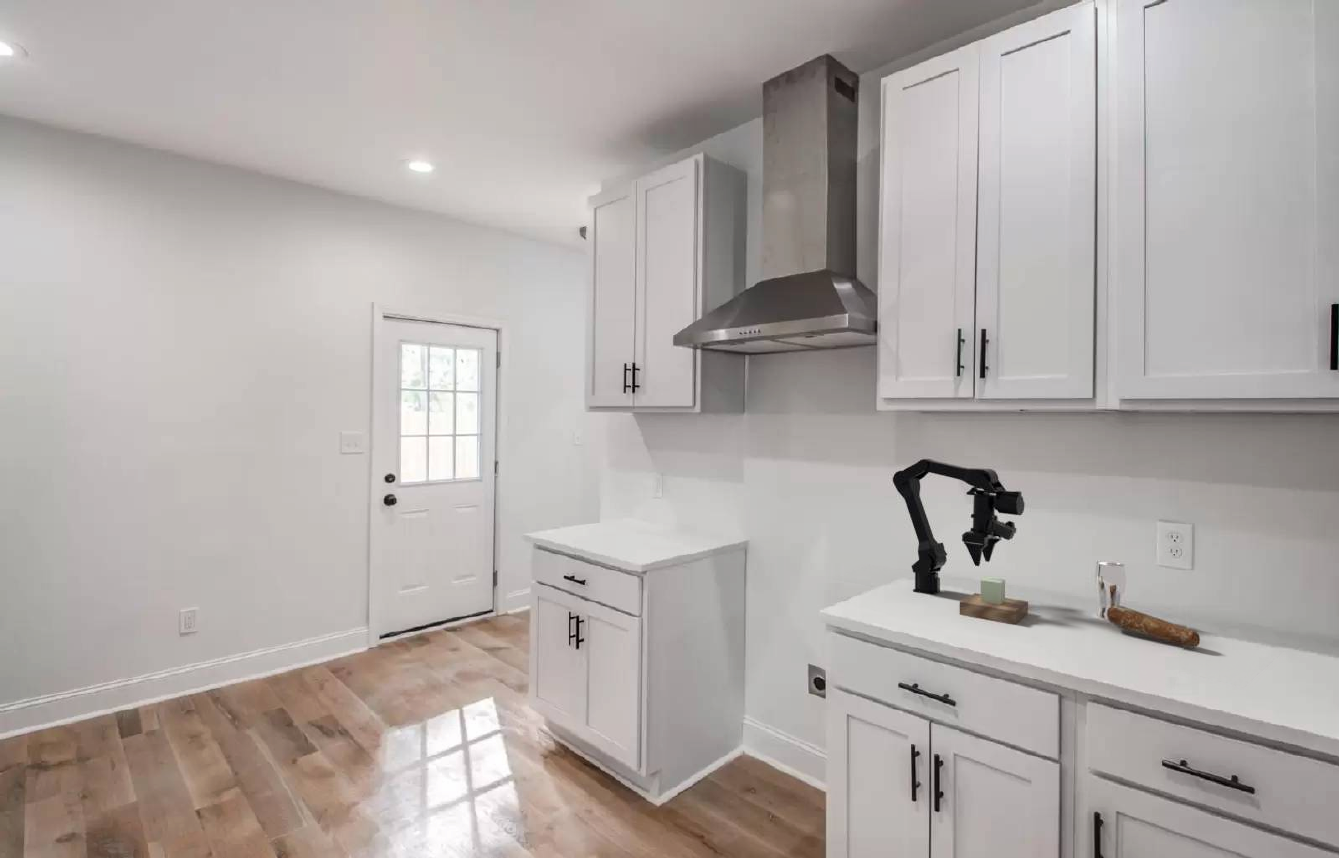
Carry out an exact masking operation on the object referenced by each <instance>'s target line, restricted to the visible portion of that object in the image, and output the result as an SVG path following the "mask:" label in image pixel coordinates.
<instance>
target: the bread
mask: <svg viewBox="0 0 1339 858" xmlns="http://www.w3.org/2000/svg"><path fill="white" fill-rule="evenodd" d="M1107 618H1108V622H1109V623H1110V624H1113V625H1114V626H1116V627H1118V628H1120V629H1123V630H1127V631H1131V632H1134V633H1138V634H1142V635H1146V636H1149V637H1153V638H1157V639H1160V640H1165V641H1168V642H1173V643H1177V644H1181V645H1185V646H1189V647H1197V646H1199V645H1200V641H1201V637H1200V635H1199V633H1198V632H1197V631H1196V630H1195V631H1194V630H1192V629H1189V628H1186V627H1183V626H1181V625H1178V624H1175V623H1173V622H1170V621H1167V620H1163V619H1161V618H1158V617H1154V616H1152V615H1149V614H1146V613H1143V612H1141V611H1138V610H1134V609H1131V608H1128V607H1126V606H1123V605H1122V606H1120V605H1116V604H1112V605H1111V607H1110V608H1108V611H1107Z"/></svg>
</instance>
